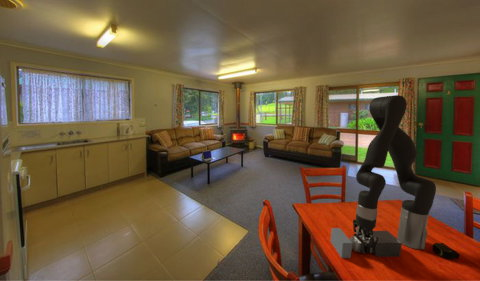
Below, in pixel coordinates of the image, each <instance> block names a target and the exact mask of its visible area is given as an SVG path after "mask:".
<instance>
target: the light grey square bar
mask: <svg viewBox="0 0 480 281" xmlns="http://www.w3.org/2000/svg"><path fill="white" fill-rule="evenodd" d="M352 235H353V236H350V237H349V240H350V241H351V242H352V251H354V252H358V253H359V254H366V253H365V252H364V245H365V243H364V240H363V236H362V235H357V234H356V233H353V234H352ZM365 238H369V237H365ZM367 243H369V241H367ZM374 251H375V248H370V253H369V254H374Z"/></svg>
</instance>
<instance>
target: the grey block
mask: <svg viewBox="0 0 480 281" xmlns="http://www.w3.org/2000/svg"><path fill="white" fill-rule="evenodd" d="M330 243H331V244H332V246H333V248H334V249H335V250H336V252H337V254H338V255H339V256H340V258H341V259H351V257H352V251H353V248H352V242H351V241H350V238H349V237H348V236H347V234H346V233H345V232H344V231H343V230H342V229H341V228H340V227H331V234H330Z"/></svg>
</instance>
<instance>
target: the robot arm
mask: <svg viewBox="0 0 480 281" xmlns="http://www.w3.org/2000/svg"><path fill="white" fill-rule="evenodd" d="M407 102H408V101H407V99H406V98H405V97H404V96H403V95H398V94H396V95H386V96H379V97H375V98H373V99H372V100H371V101H370V103H369V107H368V110H369V113H370V116H371V118H372V119H373V121H374V123H375V125H376V126H377V128H378V130H379V131H378V133H377V134H376V135H375V136H374V137H373V139H372V140H371V141H370V142H369V144H368V146H367V149H366V154H365V157H364V160H363V162H362V164H361V166H360V167H359V168H358V171H357V172H356V176H355V179H356V181H357V183H358V184H359V185H361V186H364V187H366V188H369V190H360V192H358V199H357V206H356V212H355V219H352V228H353V232H354V234H357V235H362V236H363V240H364V243H365V245H364V252H365V253H364V254H371V253H370V248H375V247H376V244H377V242H378V238H377V237H375V236H374V235H373V231H374V229H375V228H376V225H377V220H378V219H377V217H378V205H379V204H378V203H379V199H380V196H381V194H382V193H383V191H384V188H385V186H386V182H387V181H386V178H385V177H384V176H383V175H382V174H380V173H376V172H374V171H373V170H374V168H377V169H379V168H380V169H381V168H383V167H385V165H386V160H387V157H388V154H389V156H390V159H391V161H392V164H393V166H394V170H395V172H396V176H397V180H398V184H399V187H400V189H401V190H402V191H403V192H405V193H406V194H408V195H411V196H413V197H414V199H405V200H403V201H402V202H401V206H400V207H401V209H400V215H399V222H398V229H397V234H396V235H397V236H396V238H397V239H398V240H399V241H400V242H401V243H402V245H404V246H406V247H408V248H411V249H415V250H424V251H425V247H426V242H427V235H428V230H427V225H428V220H429V214H430V211H431V209H432V208H433V204H434V200H435V196H436V192H437V186H436V183H435V182H434V181H433V180H430V179H427V178H425V177H424V178H423V177H422V176H418V175H416V174H415V172H414V171H413V164H414V163H415V162H416V159H417V157H418V150H417V148H416V145H415V141H414V140H413V139H412V137H411V136H410V135H409V134H407V132H406V131H404V130H403V129H402V128H400V124H401V122H402V120H403V118H404V116H405V114H406V111H407V105H408V104H407ZM365 237H369V238H365ZM367 241H369V243H367Z"/></svg>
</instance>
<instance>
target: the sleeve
mask: <svg viewBox="0 0 480 281" xmlns="http://www.w3.org/2000/svg"><path fill="white" fill-rule="evenodd" d="M373 235H374V236H375V237H377V238H378V242H377V244H376V247H375V251H374V253H373V255H374V257H386V258H387V257H388V258H389V257H392V258H393V257H397V258H398V257H399V258H400V257H401V253H402V246H403V244H402V243H401V242H400V241H399V240H398V239H397V237H395V236H394V235H393V234H392V233H391V232H389V231H388V230H373Z"/></svg>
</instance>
